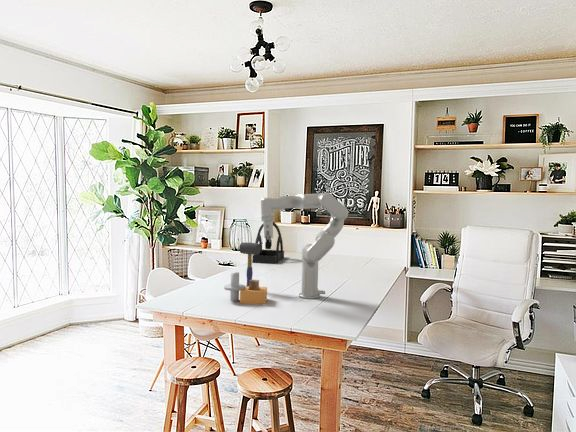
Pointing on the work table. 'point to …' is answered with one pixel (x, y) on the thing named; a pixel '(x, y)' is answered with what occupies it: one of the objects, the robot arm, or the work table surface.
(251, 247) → the rubber mallet
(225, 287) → the orange block with cylinder
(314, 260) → the robot arm
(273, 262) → the basket
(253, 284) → the tan wooden block
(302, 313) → the work table surface
